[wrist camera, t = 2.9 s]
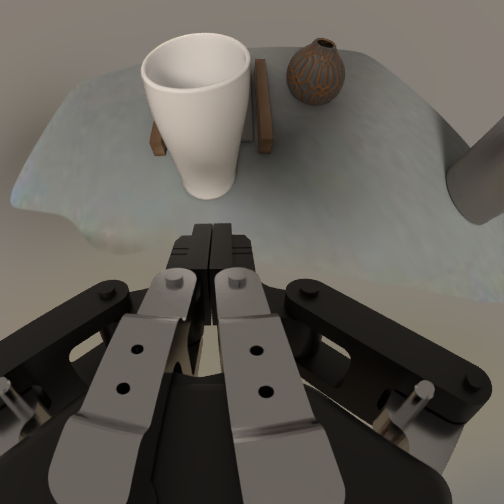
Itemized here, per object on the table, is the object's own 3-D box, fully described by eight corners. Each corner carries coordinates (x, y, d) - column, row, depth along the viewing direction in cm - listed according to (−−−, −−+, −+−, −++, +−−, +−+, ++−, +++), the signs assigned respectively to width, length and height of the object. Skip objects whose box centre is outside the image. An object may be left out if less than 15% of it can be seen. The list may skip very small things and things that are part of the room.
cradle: (262, 70, 34) (264, 57, 31) (270, 153, 30) (273, 139, 27) (171, 73, 33) (169, 59, 30) (154, 156, 29) (149, 142, 26)
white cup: (174, 211, 27) (129, 100, 13) (176, 154, 29) (148, 38, 15) (245, 206, 28) (257, 88, 13) (240, 149, 30) (247, 29, 15)
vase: (342, 114, 32) (365, 63, 24) (290, 113, 32) (304, 58, 23) (326, 79, 34) (342, 31, 26) (278, 78, 33) (287, 26, 25)
